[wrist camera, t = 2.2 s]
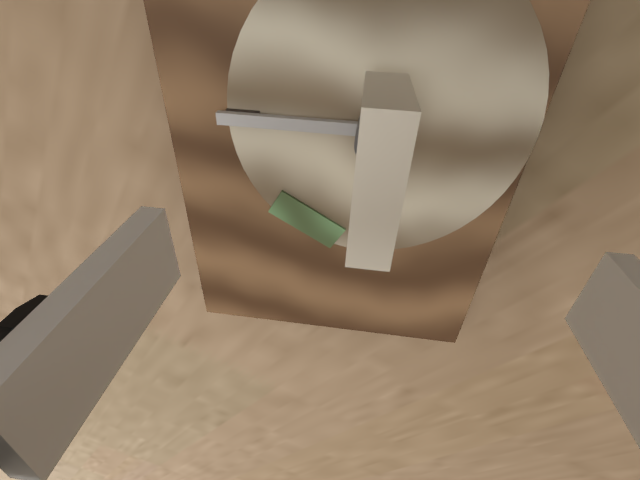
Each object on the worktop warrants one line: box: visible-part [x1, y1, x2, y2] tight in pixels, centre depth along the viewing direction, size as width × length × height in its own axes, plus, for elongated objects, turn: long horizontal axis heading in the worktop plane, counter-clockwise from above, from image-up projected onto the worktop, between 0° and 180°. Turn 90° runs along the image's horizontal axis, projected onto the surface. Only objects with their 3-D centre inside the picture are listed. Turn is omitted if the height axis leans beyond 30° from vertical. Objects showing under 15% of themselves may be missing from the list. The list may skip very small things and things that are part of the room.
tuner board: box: [144, 0, 591, 343], centre depth 24 cm, size 30×22×2 cm
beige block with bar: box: [216, 71, 421, 272], centre depth 18 cm, size 7×11×9 cm, turn 88°
